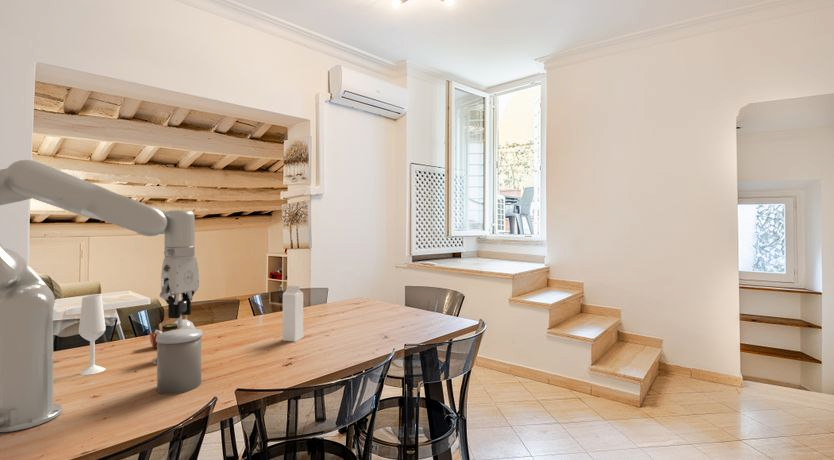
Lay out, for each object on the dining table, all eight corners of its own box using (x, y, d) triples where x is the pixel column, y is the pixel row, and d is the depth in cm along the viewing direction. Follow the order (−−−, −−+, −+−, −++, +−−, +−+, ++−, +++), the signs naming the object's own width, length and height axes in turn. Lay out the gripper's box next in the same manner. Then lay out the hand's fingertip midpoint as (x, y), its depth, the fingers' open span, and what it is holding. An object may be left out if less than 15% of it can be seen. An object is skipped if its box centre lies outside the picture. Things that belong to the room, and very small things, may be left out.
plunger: (180, 329, 114) (180, 302, 114) (169, 328, 114) (169, 302, 114) (189, 325, 117) (189, 300, 117) (178, 325, 118) (178, 300, 118)
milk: (290, 336, 168) (291, 284, 168) (303, 337, 167) (303, 285, 167) (282, 340, 163) (282, 286, 163) (295, 341, 161) (295, 287, 161)
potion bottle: (198, 344, 162) (155, 357, 151) (189, 327, 166) (147, 338, 155) (200, 328, 157) (157, 341, 146) (191, 311, 162) (148, 322, 151)
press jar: (183, 395, 109) (183, 340, 109) (145, 392, 111) (145, 338, 111) (213, 378, 122) (213, 328, 122) (179, 375, 124) (179, 326, 123)
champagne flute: (102, 365, 132) (102, 293, 132) (108, 370, 128) (108, 295, 127) (76, 371, 127) (76, 296, 127) (81, 376, 122) (81, 298, 122)
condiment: (182, 360, 138) (182, 325, 138) (153, 364, 133) (153, 329, 133) (181, 354, 144) (181, 321, 144) (153, 358, 139) (153, 324, 139)
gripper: (169, 255, 107) (169, 323, 107) (210, 251, 123) (210, 310, 123) (144, 254, 108) (144, 322, 108) (188, 251, 124) (188, 310, 124)
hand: (179, 315), depth 116 cm, fingers closed on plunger, 3 cm apart
